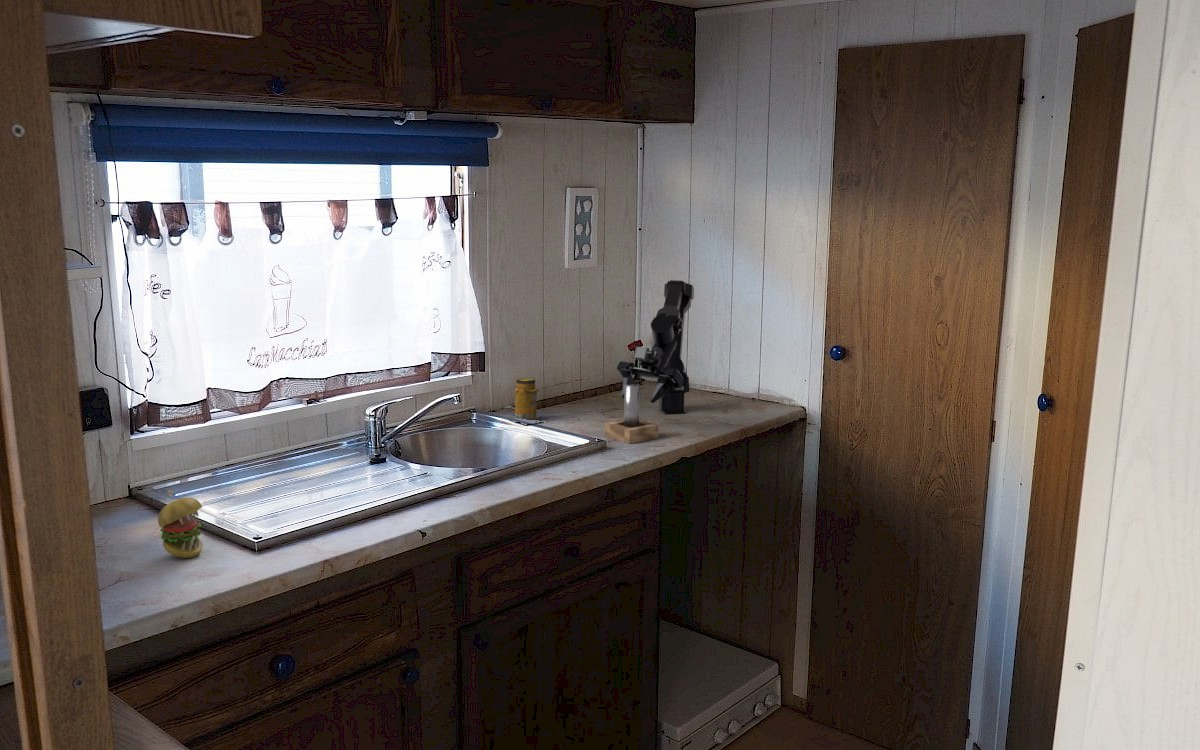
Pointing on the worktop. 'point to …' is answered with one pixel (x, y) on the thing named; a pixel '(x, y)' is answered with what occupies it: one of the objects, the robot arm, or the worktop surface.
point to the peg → (631, 405)
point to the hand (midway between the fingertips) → (637, 399)
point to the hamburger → (181, 527)
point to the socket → (631, 431)
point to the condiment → (526, 399)
